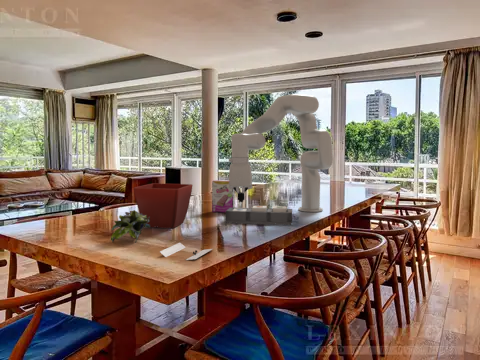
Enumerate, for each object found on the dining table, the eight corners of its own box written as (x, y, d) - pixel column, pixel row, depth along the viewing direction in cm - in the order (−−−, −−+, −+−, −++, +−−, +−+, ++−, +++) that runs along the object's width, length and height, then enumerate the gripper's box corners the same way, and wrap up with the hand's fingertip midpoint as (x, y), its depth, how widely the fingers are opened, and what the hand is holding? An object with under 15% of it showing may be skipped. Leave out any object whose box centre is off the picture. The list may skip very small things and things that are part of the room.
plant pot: (177, 230, 143) (177, 188, 141) (133, 228, 147) (132, 187, 145) (193, 221, 162) (193, 184, 160) (153, 220, 165) (153, 183, 164)
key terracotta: (253, 212, 166) (253, 205, 166) (266, 212, 165) (266, 205, 165) (252, 214, 160) (252, 207, 160) (265, 214, 159) (265, 207, 159)
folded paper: (195, 263, 104) (195, 256, 103) (159, 258, 108) (159, 251, 108) (213, 252, 115) (213, 246, 115) (180, 248, 119) (180, 242, 119)
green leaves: (132, 253, 132) (150, 221, 137) (142, 255, 122) (161, 220, 127) (101, 237, 127) (121, 204, 132) (109, 238, 117) (130, 202, 122)
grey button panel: (230, 217, 172) (230, 206, 172) (292, 219, 168) (292, 208, 167) (224, 223, 158) (224, 211, 158) (291, 225, 154) (292, 213, 154)
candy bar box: (211, 212, 186) (211, 180, 185) (213, 210, 191) (213, 179, 190) (233, 212, 185) (233, 180, 184) (234, 211, 190) (234, 180, 188)
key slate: (234, 214, 168) (234, 208, 167) (247, 215, 167) (247, 208, 166) (232, 217, 162) (232, 210, 161) (245, 217, 161) (245, 210, 161)
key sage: (273, 212, 165) (273, 205, 165) (286, 213, 164) (286, 206, 164) (272, 214, 159) (272, 207, 159) (286, 215, 158) (286, 208, 158)
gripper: (222, 162, 160) (223, 203, 162) (255, 161, 158) (256, 203, 159) (225, 161, 167) (226, 200, 169) (257, 160, 165) (258, 200, 167)
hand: (241, 201), depth 164 cm, fingers closed
